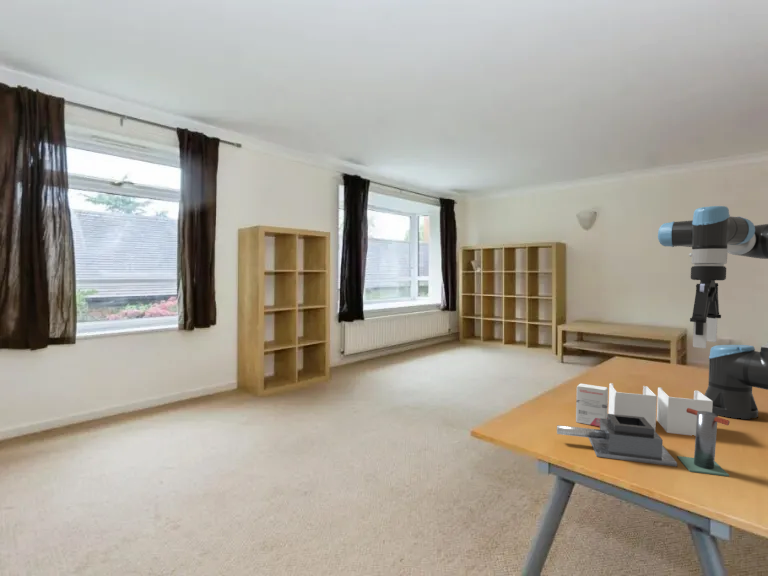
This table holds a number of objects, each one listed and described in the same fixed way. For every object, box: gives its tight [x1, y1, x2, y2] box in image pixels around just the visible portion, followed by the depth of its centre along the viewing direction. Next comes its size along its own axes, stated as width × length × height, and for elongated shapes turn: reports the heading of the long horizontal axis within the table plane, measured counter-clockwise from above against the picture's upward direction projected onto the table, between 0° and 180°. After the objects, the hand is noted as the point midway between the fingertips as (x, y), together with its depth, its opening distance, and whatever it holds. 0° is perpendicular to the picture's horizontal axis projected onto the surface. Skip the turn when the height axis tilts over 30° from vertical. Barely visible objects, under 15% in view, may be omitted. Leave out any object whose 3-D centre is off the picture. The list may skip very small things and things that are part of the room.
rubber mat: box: [676, 455, 730, 478], centre depth 105 cm, size 8×8×1 cm
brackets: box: [608, 382, 713, 437], centre depth 132 cm, size 25×11×11 cm, turn 71°
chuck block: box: [556, 414, 678, 467], centre depth 115 cm, size 27×14×8 cm, turn 73°
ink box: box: [575, 383, 609, 428], centre depth 133 cm, size 9×5×12 cm, turn 55°
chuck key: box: [686, 408, 730, 469], centre depth 104 cm, size 4×9×13 cm, turn 23°
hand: (704, 344), depth 113 cm, fingers open, 13 cm apart
